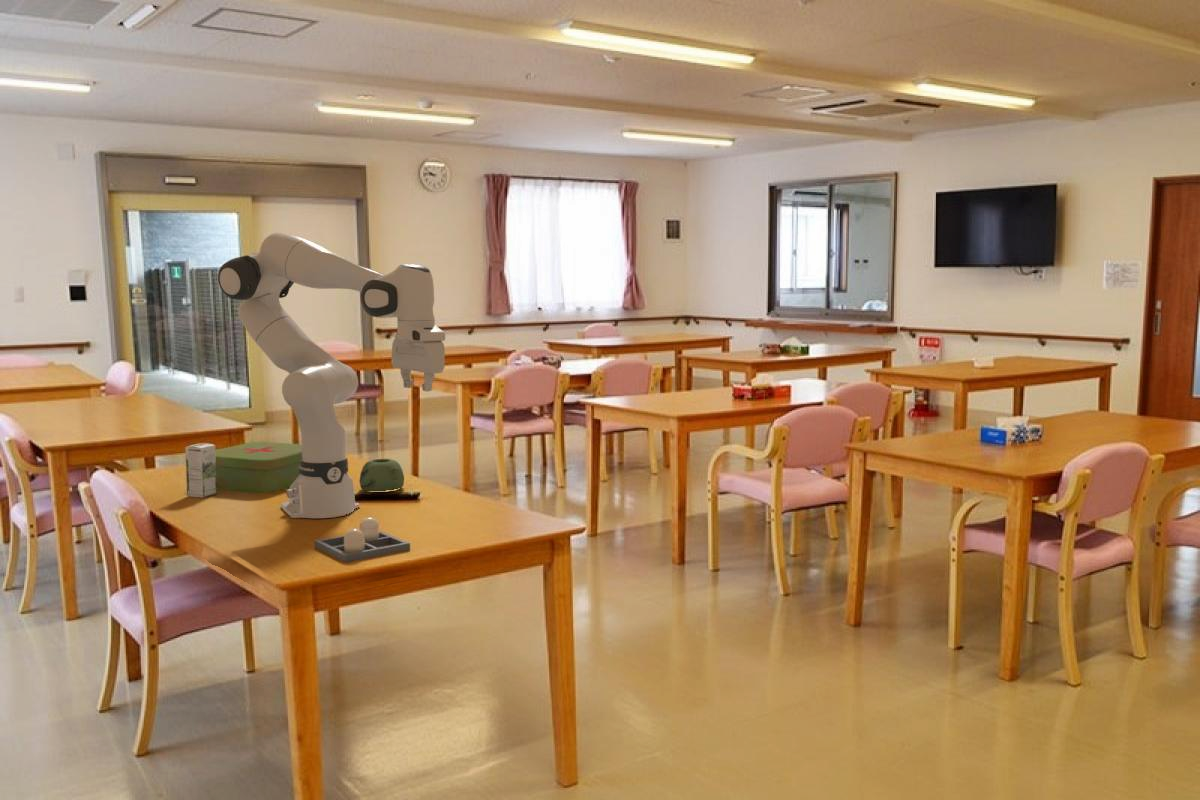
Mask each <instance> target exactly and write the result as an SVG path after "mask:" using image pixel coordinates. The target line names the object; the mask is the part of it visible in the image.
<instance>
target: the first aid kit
mask: <svg viewBox="0 0 1200 800" xmlns="http://www.w3.org/2000/svg"><path fill="white" fill-rule="evenodd" d="M215 453H216V483H217V490H223V491H233V492H234V491H235V492H244V493H245V492H246V493H255V494H256V493H257V494H270V493H276V492H279V491H282V490H283V491H284V490H287V489H290V486H291V484H292V483H293V482H294V481H295V480H296V479H297V477H298V476H299V475H300V473H299V470H300V468H299V467H300V463H301V462H300V461H301V460H302V446H301V444H298V443H297V444H296V443H287V442H285V443H283V442H270V441H253V442H248V443H242V444H237V445H232V446H229V447H225V448H221V449H220V448H219V449H215Z"/></svg>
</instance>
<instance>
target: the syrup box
mask: <svg viewBox="0 0 1200 800" xmlns="http://www.w3.org/2000/svg"><path fill="white" fill-rule="evenodd" d="M184 448H185V471H186V472H185V473H186V497H188V498H189V497H190V498H200V499H201V498H203V499H204V498H207V497H211V496H213V495H217V494H218V493H217V491H218V489H217V483H216V453H215V450H216V445H215V444H212V443H206V442H203V443H195V444H191V445H187V446H185V447H184Z"/></svg>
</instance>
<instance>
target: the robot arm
mask: <svg viewBox="0 0 1200 800" xmlns="http://www.w3.org/2000/svg"><path fill="white" fill-rule="evenodd" d="M217 281H218V282H217V283H218V286H219V288H220V290H221V291H222V293H223V294H224V295H225V296H226V297H228V298H229V299H231V300H236V301H242V302H241V303H240V304H239V306H238V310H237V315H238V318H239V320H240V322H241V323H242V325H243V327H244V328H245V330H246V332H247V333H248V334H249V336H250V337H251V338H252V340H253V341H254V342H255V344H256V345H257V346H258V347H259V348H260V349H261V350H262V352H263V353H264V354H265V355H266V357H267V358H268V359H269V360H270V361H271V362H272V364H273V365H274V366H275V367H277V368H279V369H281V370H283V371H286V372H287V373H288V375H287V376H286V377H285V378H284V380H283V381H282V385H281V394H282V396H283V399H284V401H285V402H286V404H287V405H288V406H289V407H290V408H291V409H292V411H293V412H294V415H295V417H296V420H297V423H298V427H299V432H300V443H301V444H300V445H301V446H302V460H301V461H300V462H301V463H300V467H299V468H300V470H299V473H300V475H299V476H298V477H297V479H296V480H295V481H294V482H293V483H292V484H291V486H290V488H287V489H286V493H285V494H286V497H287V499H289V500H287V501H284V502H283V503H282V502H281V504H280V508H281V509H282V510H283V511H284V512H285V513H286V514H287V515H288V516H289V517H290V518H291V519H292V518H293V519H327V518H329V519H330V518H331V519H332V518H337V517H338V518H339V517H342V516H347V515H350V514H352V513H354V512H355V510H356V509H355V508H357V507H359V506H360V503H359V502H356V498H355V489H354V486H355V485H354V480H353V478H352V476H351V475H349V474H348V472H349V461H348V458H347V456H346V455H347V453H346V451H347V449H346V430H345V427H344V426H343V425H342V424H340V422H339V419H338V417H337V415H336V411H335V405H338V404H342V403H344V402H345V401H348V400H349V399H350V398H351V397H352V396H354V395H355V393H356V392H357V390H358V388H359V378H358V374H357V372H356V371H355V370H354V369H353V368H352V367H351V366H350V365H347V364H345V363H343V362H341V361H339V360H338V359H336V358H335V357H334V356H332V355H331V354H330V353H328V352H327V351H326V350H324V349H323V348H322V347H320V346H319V345H318V344H316V343H315V341H313V340H312V339H311V338H310V337H309V336H308V335H307V334H306V333H305V332H304V330H302V328H301V327H300V326H299V325H298V324H297V322H296V321H294V319H293V318H292V317H291V316H290V315H289V314H288V312H287V311H286V310H285V309H284V308H283V306H282V305H281V302H280V299H282V298H286V297H287V296H288V294H289V291H290V289H291V288H292V286H293V285H294V284H297V285H300V286H302V287H307V288H312V289H317V290H318V289H319V290H320V289H321V290H322V289H323V290H324V289H326V290H327V289H330V290H331V289H332V290H333V289H336V290H337V289H342V290H343V289H344V290H346V289H347V290H352V291H356V292H360V303H361V307H362V308H363V310H364V312H365V313H366V314H367V315H369V316H370V317H372V318H373V317H374V318H379V319H380V318H381V319H386V318H391V319H392V318H397V320H396V321H397V326H396V327H397V332H396V334H395V336H394V339H393V340H392V345H391V365H392V368H393V369H394V368H395V369H399V370H400V375H401V378H402V379H401V380H403V381H402V383H403V387H404V388H406V389H411V388H413V386H414V385H413V383H414V381H413V380H412V377H411V373H412V372H418V373H419V372H420V373H423V378H424V381H423V383H422V385H421V386H422V389H421V391H423V392H428V393H429V392H431V391H432V390H433V383H434V379H435V378H436V377H435V374H442V373H443V371H444V370H445V361H446V360H445V359H446V355H445V353H446V351H445V344H444V342H443V341H445V340H446V333H445V331H444V330H442V329H441V328H439V326H438V325H437V324H435V323H436V322H435V321H436V320H435V319H436V318H435V315H434V309H433V308H434V305H435V290H434V289H435V287H434V279H433V274H432V272H431V270H430V269H429V268H427V267H426V266H423V265H420V264H412V263H402V264H399V265H398V266H397V268H395V269H394V270H393V271H391V272H389V273H388V274H383V273H381V272H379V271H376V270H373V269H371V268H368V267H366V266H362V265H360V264H357V263H354V262H353V261H351V260H349V259H347V258H345V257H342V256H340V255H339V254H337V253H334V252H332V251H330V250H329V249H327V248H325V247H323V246H321V245H319V244H316V243H315V242H312V241H309V240H307V239H305V238H302V237H300V236H296V235H292V234H287V233H282V232H274V233H271V234H269V235H268V236H267V237H264V240H263V241H262V243H261V244H260V248H259V251H258V252H253V253H250V254H247V255H242V256H238V257H237V256H236V257H234V258H231V259H229V260H228V261H226V262H224V263H223V264H222V265H221V266H220V267H219V270H218V272H217ZM359 508H360V507H359ZM354 509H355V510H354ZM357 509H358V508H357ZM353 511H354V512H353ZM351 512H352V513H351ZM349 513H350V514H349ZM346 514H347V515H346Z"/></svg>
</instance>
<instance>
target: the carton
mask: <svg viewBox="0 0 1200 800" xmlns="http://www.w3.org/2000/svg"><path fill="white" fill-rule="evenodd" d="M344 535H345V534H344ZM344 535H339V536H333V537H327V538H322V539H315V540H314V548H315V549H316V550H317V549H318V550H319V551H320V552H323V553H326V554H328V555H329V556H331V557H333V558H334V559H335V558H336V559H337V560H340V561H341V562H343V563H345V564H346V563H349V562H350V563H351V562H354V561H355V562H356V561H360V560H366V559H370V558H375V557H380V556H386V555H391V554H396V553H401V551H402V552H406V550H407V551H410V550H411V543H410V542H408V541H406V540H404V539H401V538H399V537H396V536H394V535H392V534H389V533H387V532H385V531H382V530H381V529H379V538H377V539H372V540H367V541H365V550H364V551H359V552H354V553H348V554H347V553H345V552H344Z"/></svg>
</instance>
